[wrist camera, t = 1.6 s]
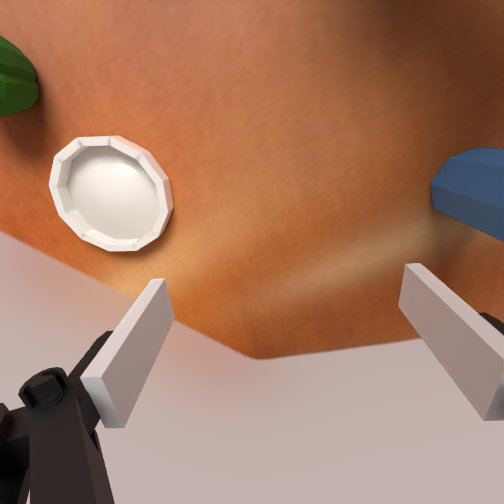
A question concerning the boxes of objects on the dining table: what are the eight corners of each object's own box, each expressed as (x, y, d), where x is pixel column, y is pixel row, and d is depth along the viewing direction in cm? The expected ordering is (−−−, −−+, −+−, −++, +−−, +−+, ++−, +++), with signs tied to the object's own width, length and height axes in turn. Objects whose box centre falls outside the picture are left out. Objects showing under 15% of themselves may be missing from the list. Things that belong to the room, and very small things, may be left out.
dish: (49, 138, 35) (32, 139, 33) (162, 133, 34) (154, 134, 32) (83, 244, 41) (71, 252, 39) (179, 242, 41) (174, 250, 38)
